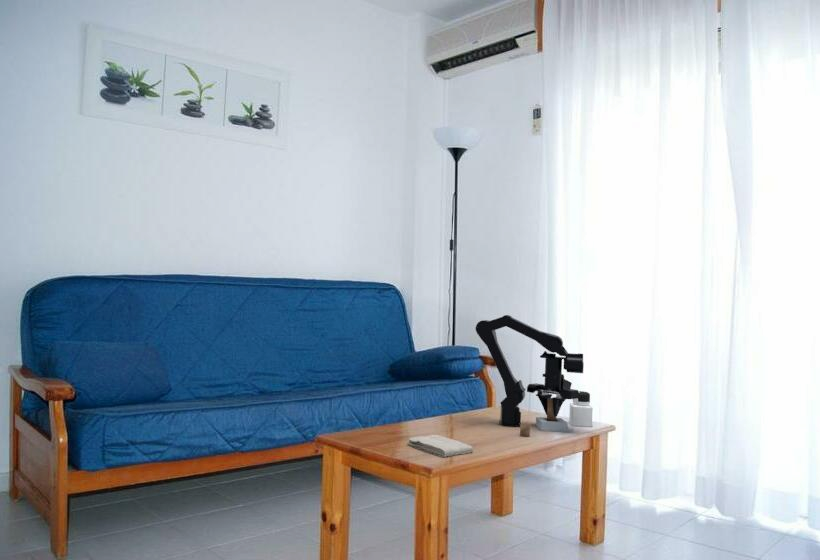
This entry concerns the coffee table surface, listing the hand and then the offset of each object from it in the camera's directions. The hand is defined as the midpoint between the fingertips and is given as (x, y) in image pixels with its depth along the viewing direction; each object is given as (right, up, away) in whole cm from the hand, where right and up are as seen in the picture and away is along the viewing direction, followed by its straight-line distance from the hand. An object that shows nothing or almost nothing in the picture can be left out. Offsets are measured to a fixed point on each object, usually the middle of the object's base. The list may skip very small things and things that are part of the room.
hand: (551, 415), depth 227 cm
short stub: (-12, -4, -14) cm, 19 cm away
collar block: (0, -5, 0) cm, 4 cm away
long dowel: (0, -3, 0) cm, 3 cm away
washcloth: (-41, -3, -37) cm, 55 cm away
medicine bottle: (+13, -6, +10) cm, 17 cm away
